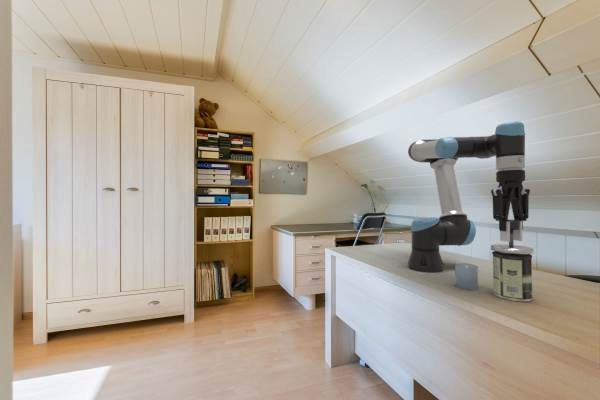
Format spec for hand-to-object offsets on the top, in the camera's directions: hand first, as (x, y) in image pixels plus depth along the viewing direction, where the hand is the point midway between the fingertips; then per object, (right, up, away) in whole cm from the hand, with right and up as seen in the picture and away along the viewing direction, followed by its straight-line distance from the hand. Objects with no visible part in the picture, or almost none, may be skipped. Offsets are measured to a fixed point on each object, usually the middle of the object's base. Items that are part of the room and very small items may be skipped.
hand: (511, 240), depth 88 cm
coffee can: (0, -19, 0) cm, 19 cm away
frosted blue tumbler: (-9, -18, +9) cm, 23 cm away
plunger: (0, -3, 0) cm, 3 cm away
